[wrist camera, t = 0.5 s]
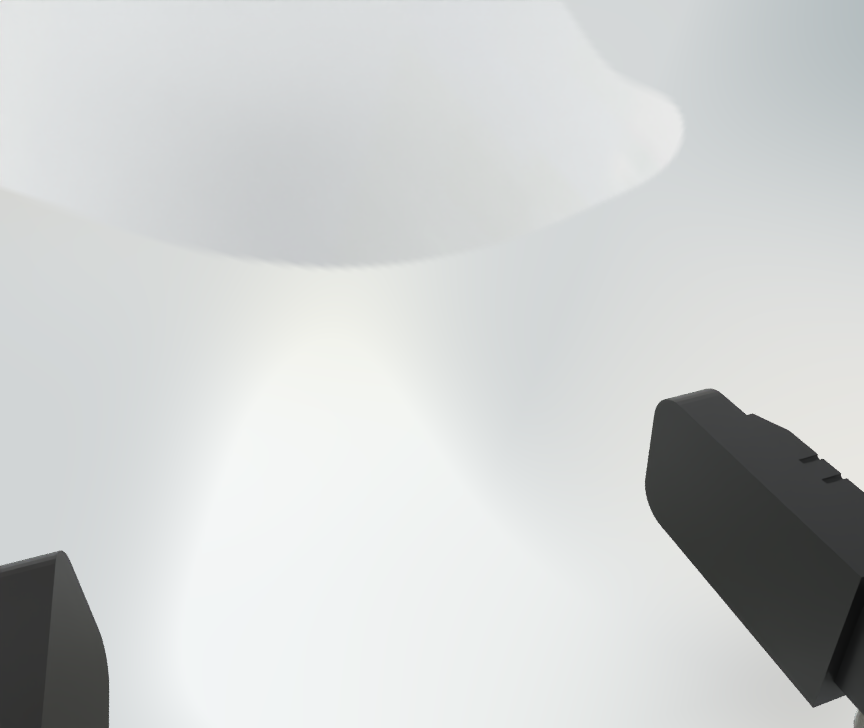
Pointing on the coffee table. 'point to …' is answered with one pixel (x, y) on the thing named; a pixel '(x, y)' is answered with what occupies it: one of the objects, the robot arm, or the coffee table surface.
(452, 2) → the coffee table surface
